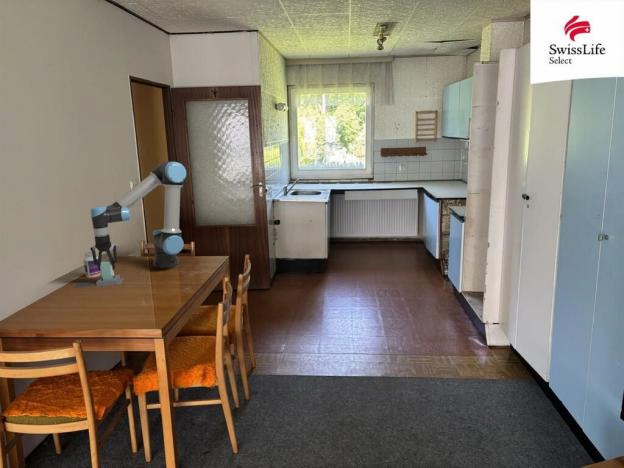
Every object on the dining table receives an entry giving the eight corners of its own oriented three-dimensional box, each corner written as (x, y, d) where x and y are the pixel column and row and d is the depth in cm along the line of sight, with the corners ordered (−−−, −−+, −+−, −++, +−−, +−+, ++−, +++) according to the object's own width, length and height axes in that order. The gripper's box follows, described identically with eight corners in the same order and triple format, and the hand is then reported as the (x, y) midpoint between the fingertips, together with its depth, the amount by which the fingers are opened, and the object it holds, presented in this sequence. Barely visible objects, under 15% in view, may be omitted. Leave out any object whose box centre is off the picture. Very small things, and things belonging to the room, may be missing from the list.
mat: (95, 282, 266) (95, 281, 266) (91, 287, 257) (91, 286, 257) (78, 283, 264) (77, 282, 264) (73, 288, 255) (73, 287, 255)
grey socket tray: (123, 279, 269) (123, 274, 268) (120, 285, 258) (119, 280, 257) (97, 282, 266) (97, 276, 265) (93, 288, 255) (92, 282, 255)
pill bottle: (103, 274, 281) (100, 250, 277) (96, 278, 273) (92, 254, 270) (90, 274, 281) (87, 251, 278) (83, 278, 274) (79, 254, 270)
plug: (113, 280, 264) (110, 260, 262) (112, 283, 260) (109, 262, 257) (105, 281, 263) (102, 261, 261) (103, 284, 259) (100, 263, 257)
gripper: (120, 232, 261) (125, 272, 266) (86, 234, 257) (92, 275, 263) (117, 234, 254) (123, 275, 259) (82, 237, 250) (89, 279, 256)
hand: (107, 275), depth 261 cm, fingers closed on plug, 4 cm apart
